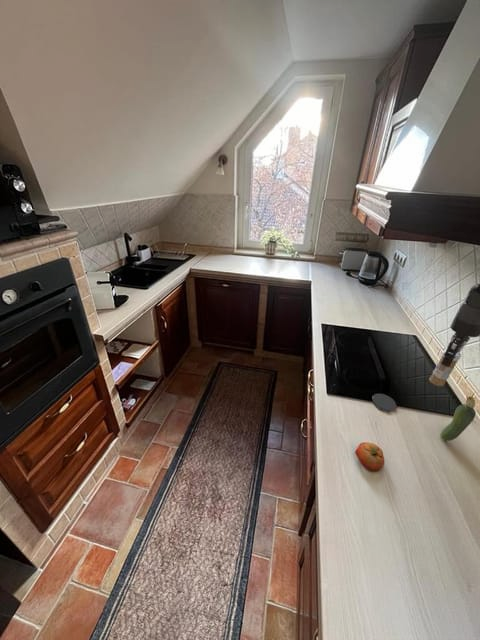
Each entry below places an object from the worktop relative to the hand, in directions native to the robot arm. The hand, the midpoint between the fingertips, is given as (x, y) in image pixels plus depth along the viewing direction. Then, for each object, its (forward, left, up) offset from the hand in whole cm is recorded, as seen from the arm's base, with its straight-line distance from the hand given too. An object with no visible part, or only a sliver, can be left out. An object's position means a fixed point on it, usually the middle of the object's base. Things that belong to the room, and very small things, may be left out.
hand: (447, 361), depth 85 cm
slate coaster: (+16, 0, -20) cm, 25 cm away
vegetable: (+4, +16, -20) cm, 26 cm away
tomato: (+32, +21, -20) cm, 43 cm away
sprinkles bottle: (0, 0, -10) cm, 10 cm away
